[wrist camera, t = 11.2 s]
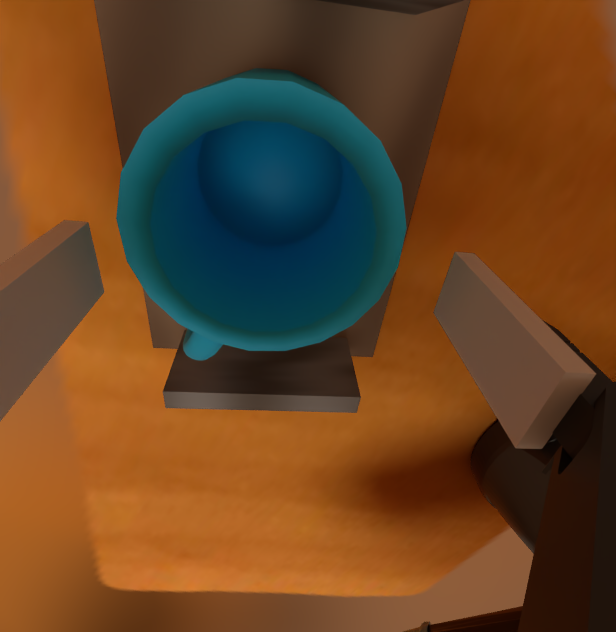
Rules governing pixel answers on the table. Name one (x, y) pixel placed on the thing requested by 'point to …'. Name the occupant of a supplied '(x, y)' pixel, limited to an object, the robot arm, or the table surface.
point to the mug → (260, 214)
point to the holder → (333, 76)
